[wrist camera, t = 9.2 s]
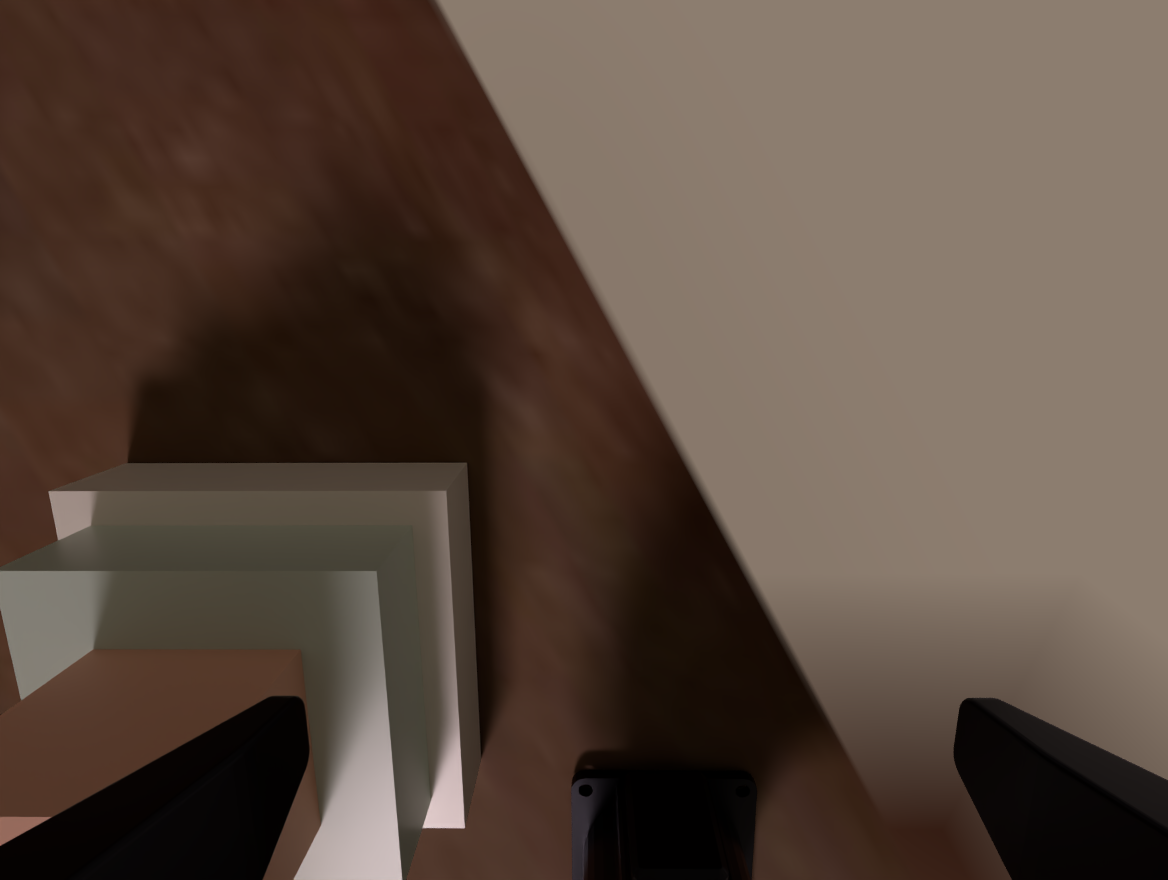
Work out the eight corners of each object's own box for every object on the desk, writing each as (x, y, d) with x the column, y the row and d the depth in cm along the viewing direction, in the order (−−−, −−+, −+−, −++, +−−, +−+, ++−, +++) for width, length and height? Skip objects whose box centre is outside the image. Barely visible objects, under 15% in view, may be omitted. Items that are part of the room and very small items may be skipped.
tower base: (481, 759, 23) (443, 920, 17) (176, 758, 23) (33, 917, 17) (467, 462, 20) (417, 530, 14) (126, 463, 20) (-61, 530, 15)
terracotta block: (320, 825, 16) (205, 1052, 11) (127, 824, 16) (-70, 1050, 11) (300, 649, 15) (162, 817, 10) (93, 649, 15) (-143, 816, 10)
